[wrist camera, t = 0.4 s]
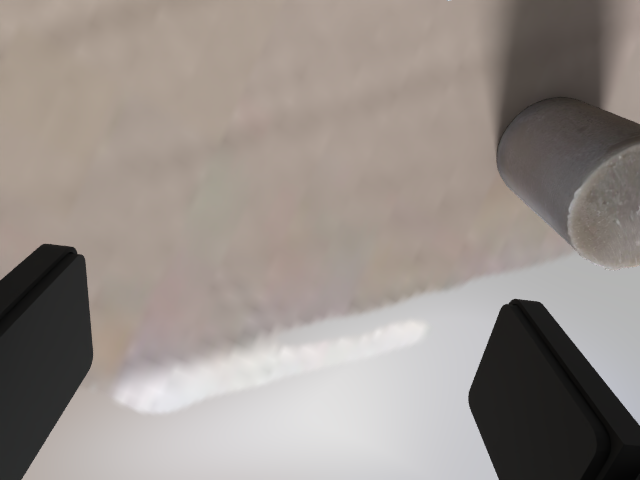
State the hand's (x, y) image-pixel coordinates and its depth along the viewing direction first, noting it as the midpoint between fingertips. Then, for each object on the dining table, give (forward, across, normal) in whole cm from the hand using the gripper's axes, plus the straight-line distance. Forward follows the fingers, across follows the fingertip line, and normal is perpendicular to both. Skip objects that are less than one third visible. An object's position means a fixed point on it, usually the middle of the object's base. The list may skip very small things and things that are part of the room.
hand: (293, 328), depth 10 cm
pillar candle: (+34, -23, +2) cm, 41 cm away
